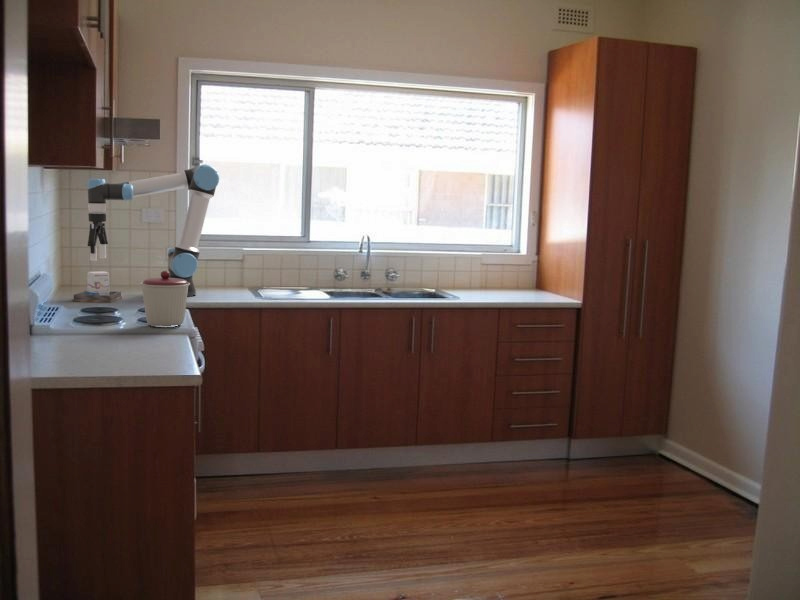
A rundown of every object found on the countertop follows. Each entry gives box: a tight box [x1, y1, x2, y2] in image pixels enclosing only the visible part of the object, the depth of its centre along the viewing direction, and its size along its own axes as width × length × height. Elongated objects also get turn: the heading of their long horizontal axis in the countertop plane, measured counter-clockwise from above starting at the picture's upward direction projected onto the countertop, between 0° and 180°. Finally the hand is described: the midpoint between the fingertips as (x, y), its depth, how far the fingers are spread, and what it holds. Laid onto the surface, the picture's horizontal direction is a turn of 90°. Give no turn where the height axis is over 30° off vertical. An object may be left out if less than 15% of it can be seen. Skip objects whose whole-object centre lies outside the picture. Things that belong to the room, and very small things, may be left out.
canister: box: [139, 270, 190, 326], centre depth 315 cm, size 18×18×21 cm
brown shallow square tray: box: [72, 290, 123, 304], centre depth 382 cm, size 17×17×3 cm
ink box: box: [86, 270, 110, 295], centre depth 381 cm, size 9×5×12 cm, turn 139°
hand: (98, 259), depth 380 cm, fingers open, 13 cm apart
